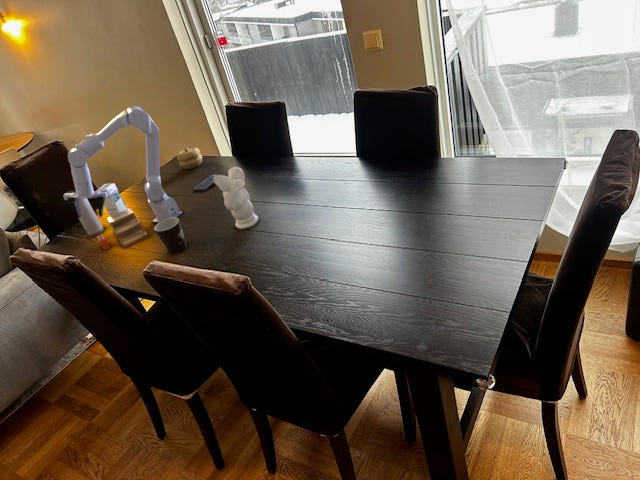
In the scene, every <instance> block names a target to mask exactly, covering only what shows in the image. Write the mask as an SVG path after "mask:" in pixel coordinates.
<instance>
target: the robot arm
mask: <svg viewBox="0 0 640 480" xmlns="http://www.w3.org/2000/svg"><path fill="white" fill-rule="evenodd" d="M130 125H131V126H132V127H134V128H136V129H139V130H140V131H141V132H142V133H144V134H145V162H146V164H145V165H146V176H145V182H144V184H143V190H144V192H145V193H146V197H147V202H148V204H149V206H150V208H151V210H152V212H153V214H154V216H155V218H154V219H153V220H152V223H159V222H161V221H163V220H165V219H168V218H176V217H177V218H179V216H180V215H182V213H183V211H181V210H180V208H179V206H178V204H177V202H176V200H175V198H173V197H170V196H168V195H167V194H166V192H164V189H163V187H162V181H161V180H162V179H161V172H160V170H161V169H160V168H161V167H160V165H161V164H160V163H161V162H160V161H161V160H160V158H161V157H160V130H159V129H160V128H158V126H157V125H156V124H155V121H153V120H152V118H151V116H150V115H149V114H148V113H147V112H146V110H144V109H143V108H141V106H138V105H131V106H129V107H127V109H125V110H123V111H122V112H120V113H118V115H116V116H115V117H114V118H113V119H112V120H111V121H110V122H109V123H108V124H107V125H106V126H105V127H104V128H102V129H101V130H100V131H99V132H98V133H91V134H86V135H85V136H84V139H83V140H82V141H81V142H80V143H78V144H75V145H74V148H71V149H69V151H68V154H67V160H68V163H69V165H70V169H71V171H70V173H71V176H72V181H73V185H74V188H75V189H76V192H74V193H66V192H65V193H64V194H63V195H62V196H63V200H64V201H67V202H66V203H67V205H68V206H69V207H70V208H71V209H72V210H73V212H74V213H75V215H76V217H77V219H79V218H80V217H81V211H80V208H79V200H78V199H87V200H88V199H95V200H94V202H95V204H96V207H97V211H98V216H99V218H103V216H104V207H105V206H104V202H105V199H106V198H107V197H108V195H107V192H100V191H96V190H94V186H93V182H92V177H91V173H90V168H89V166H88V159H90V158H93V156H95V155H96V154H97V153H98V152H100V151H101V150H102V149H103V148H104V147H105V142H106V141H107V140H108V139H109V138H110V137H112V136H113V135H114V134H116V133H117V132H118V131H119V130H121V129H122V128H124V129H125V128H127V129H128V128H131V126H130ZM75 189H74V190H75Z"/></svg>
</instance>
